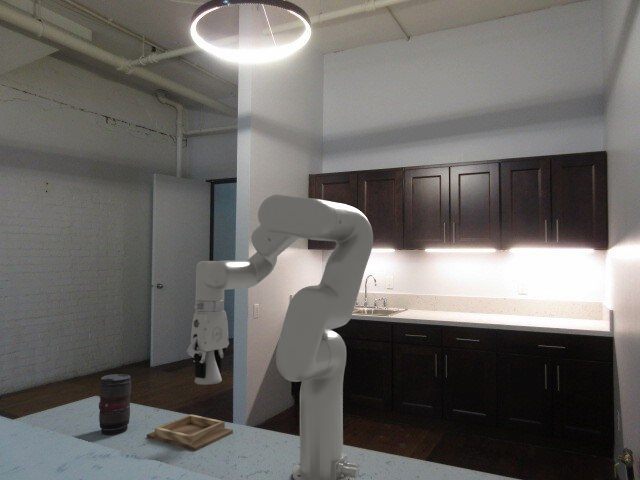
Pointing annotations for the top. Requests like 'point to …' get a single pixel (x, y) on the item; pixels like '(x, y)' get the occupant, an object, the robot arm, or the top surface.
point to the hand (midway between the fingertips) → (208, 374)
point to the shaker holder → (191, 432)
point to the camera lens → (114, 403)
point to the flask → (210, 371)
